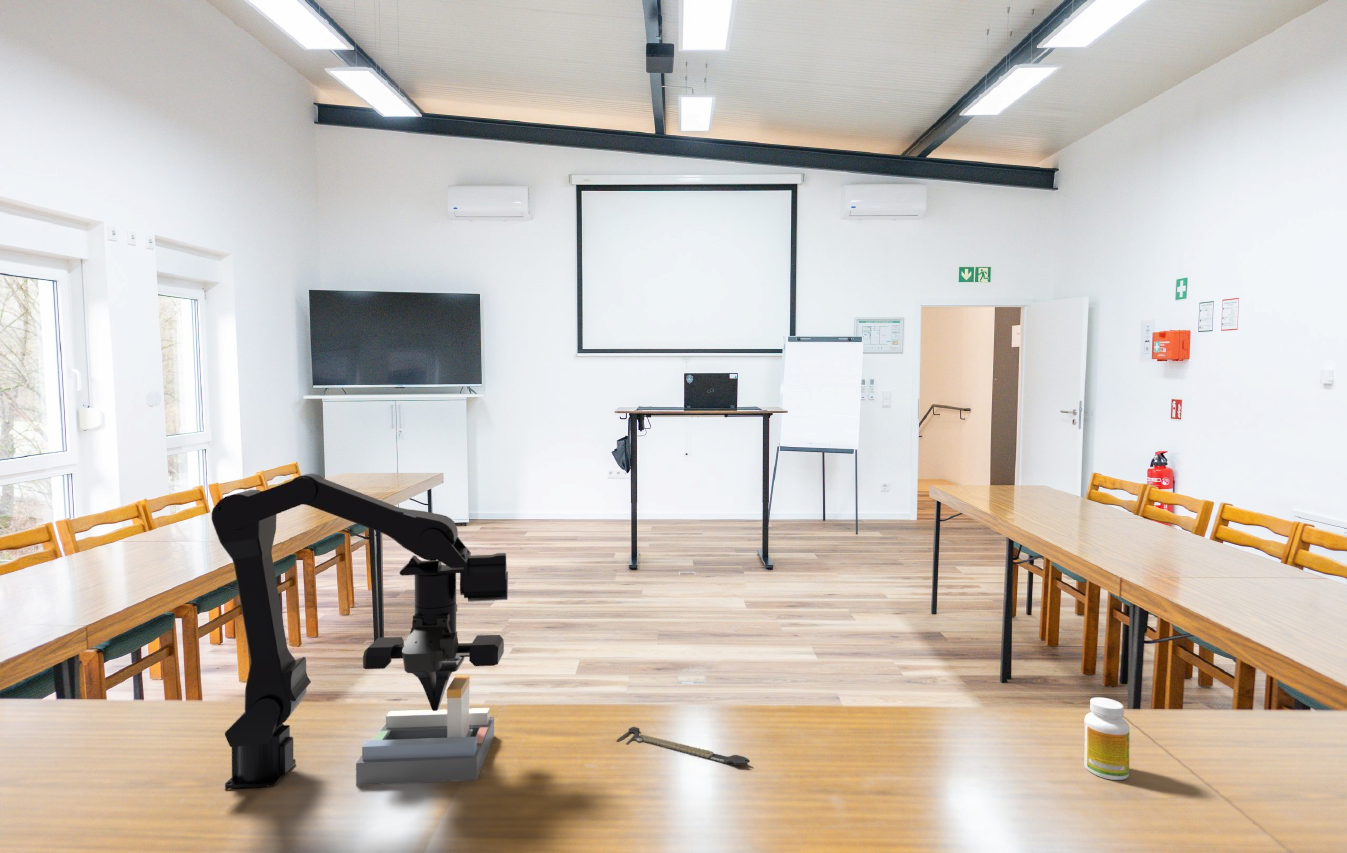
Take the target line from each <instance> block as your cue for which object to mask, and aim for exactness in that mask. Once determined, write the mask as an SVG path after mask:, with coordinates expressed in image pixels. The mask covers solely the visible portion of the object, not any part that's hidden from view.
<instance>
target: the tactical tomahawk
mask: <svg viewBox="0 0 1347 853" xmlns="http://www.w3.org/2000/svg"><path fill="white" fill-rule="evenodd" d="M630 734H631V735H632V734H633V735H632V737H631V738H629V740H628V741H627V742H626V743H625V745H630V744H631V743H632V742H636V743H638V744H641V743H645V744H650V745H654V746H657V747H661V748H665V749H668V750H672V751H676V752H679V753H683V754H686V755H690V756H694V757H698V758H701V759H705V760H708V761H712V762H715V763H720V764H723V765H727V764H729V763H731V764H733V765H735V766H737V765H738V766H739V765H741V766H743V765H746V766H747V765H748V763H750V759H749V758H748V757H745V756H742V755H739V754H732V755H730V756H729V755H728V756H726V755H722V754H718V753H714V751H712V750H708V749H707V750H706V749H703V748H700V747H695V746H690V745H688V744H687V745H686V744H683V743H679V742H675V741H670V740H667V739H662V738H657V737H653V736H650V735H646V734H641V733H640V728H639V727H638V726H632V727H628V731H627V732H626V733H623V735H621V736H620V737H619V738H618V739H617V740H615V742H616V743H620V742H621V741H623V740H625V738H627V737H628V736H629V735H630Z"/></svg>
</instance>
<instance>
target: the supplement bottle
mask: <svg viewBox="0 0 1347 853" xmlns="http://www.w3.org/2000/svg"><path fill="white" fill-rule="evenodd" d="M1089 702H1090V703H1089V709H1090V711H1091V712H1088V713H1087V714H1086V715H1085V717H1084V722H1083V723H1084V725H1083V726H1084V727H1083V729H1084V730H1083V733H1084V734H1083V735H1084V736H1083V765H1084V767H1085V769H1086V770H1087V771H1089V772H1090V773H1091V774H1093V775H1094V776H1098V777H1099V778H1103V779H1107V780H1112V781H1123V780H1126V779H1128V778H1129V776H1130V725H1129V723H1128V721H1127V720H1125V718H1123V717H1124V714H1125V710H1124V704H1123V703H1121V702H1119V701H1117V700H1115V699H1111V698H1107V697H1102V696H1101V697H1100V696H1099V697H1091V699H1090V701H1089Z"/></svg>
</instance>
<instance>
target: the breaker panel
mask: <svg viewBox="0 0 1347 853" xmlns="http://www.w3.org/2000/svg"><path fill="white" fill-rule="evenodd" d="M490 709H491V708H490V707H477V708H476V707H475V708H474V707H473V708H470V707H469V729H473V737H452V738H447V708H446V709H445V708H444V709H441V708H439V709H438V710H437V711H433V710H432V709H414V710H413V709H412V710H411V709H409V710H389V712H388V713H387V714H386V715H385V724H384V726H383V727H382V728H381V730H380V731H379V732H378V733H377V735H376V736H375V738H374V739H371V740H370V739H369V740H366V741H365V742H364V744H363V745H362V746H361V747H362V748H361V754H362V755H361V756H360V757H359V759H358V760H356V762H355V786H369V785H372V786H373V785H391V784H392V785H395V784H397V785H398V784H417V783H419V784H421V783H442V782H443V783H446V782H466V781H467V782H468V781H469V782H470V781H477V780H478V778H479V776H480V773H481V770H482V768H483V765H484V763H485V761H486V757H487V755H488V753H489V751H490V748H491V745H492V742H493V740H494V737H495V716H491V715H490V713H491V710H490Z"/></svg>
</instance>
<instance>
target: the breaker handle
mask: <svg viewBox="0 0 1347 853" xmlns="http://www.w3.org/2000/svg"><path fill="white" fill-rule="evenodd" d="M446 702H447V703H446V709H447V738H452V737H473V729H469V708H470V675H469V674H462V675H459V674H457V675H455V676H454V678H453V679H452V681H451V683H450V684H449V686H448V687H447V689H446Z"/></svg>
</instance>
